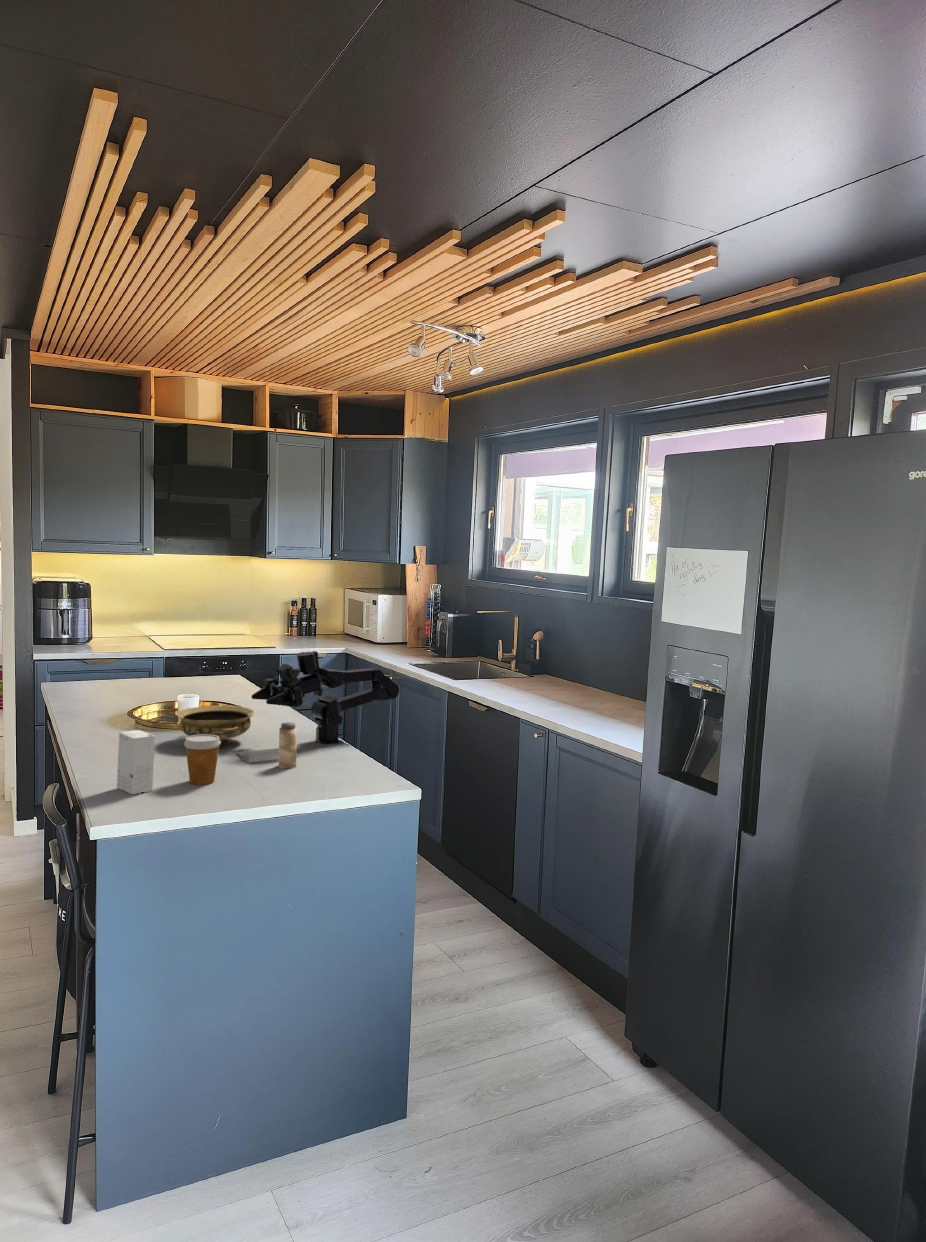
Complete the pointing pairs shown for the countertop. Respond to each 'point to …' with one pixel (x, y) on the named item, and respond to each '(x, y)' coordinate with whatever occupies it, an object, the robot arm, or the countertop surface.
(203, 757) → the disposable coffee cup
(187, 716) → the gold ornate bowl
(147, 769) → the skincare box
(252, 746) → the countertop surface
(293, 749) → the oak pepper mill
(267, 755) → the slate tile
